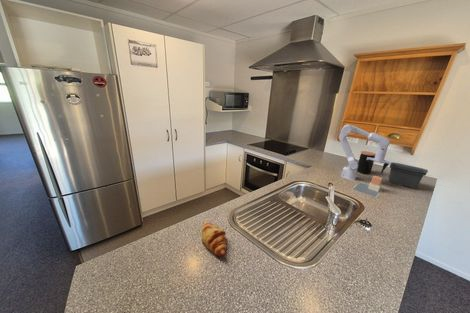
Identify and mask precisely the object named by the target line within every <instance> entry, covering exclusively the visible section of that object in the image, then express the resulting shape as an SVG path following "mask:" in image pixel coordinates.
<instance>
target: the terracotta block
mask: <svg viewBox="0 0 470 313" xmlns="http://www.w3.org/2000/svg"><path fill="white" fill-rule="evenodd" d="M382 181H383V177H380V176H378V175H373V176H372V178H371V181H370V182H371V183H369V184H373V185H377V186H380V184H382Z"/></svg>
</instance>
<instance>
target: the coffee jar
mask: <svg viewBox="0 0 470 313" xmlns="http://www.w3.org/2000/svg"><path fill="white" fill-rule="evenodd" d="M375 154H376V152H375V153H374V152H371V151H364V150H363V151H361V152H360V156H359V159H358V169H357V173H360V174H362V175H369V174H371V173H372V169H373V166H374V162H375V161H373V162H372V165H371V169H370V170H369V165H368V160H367V157H370V158H375Z"/></svg>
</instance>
